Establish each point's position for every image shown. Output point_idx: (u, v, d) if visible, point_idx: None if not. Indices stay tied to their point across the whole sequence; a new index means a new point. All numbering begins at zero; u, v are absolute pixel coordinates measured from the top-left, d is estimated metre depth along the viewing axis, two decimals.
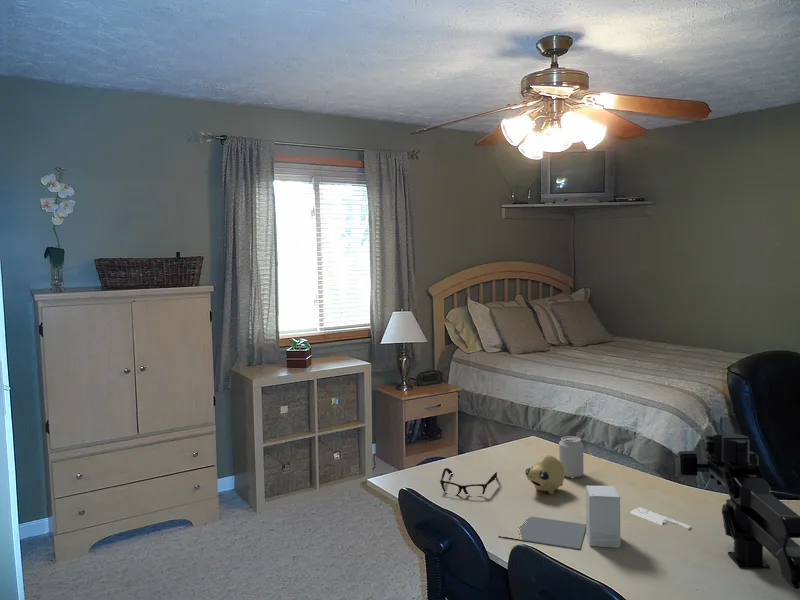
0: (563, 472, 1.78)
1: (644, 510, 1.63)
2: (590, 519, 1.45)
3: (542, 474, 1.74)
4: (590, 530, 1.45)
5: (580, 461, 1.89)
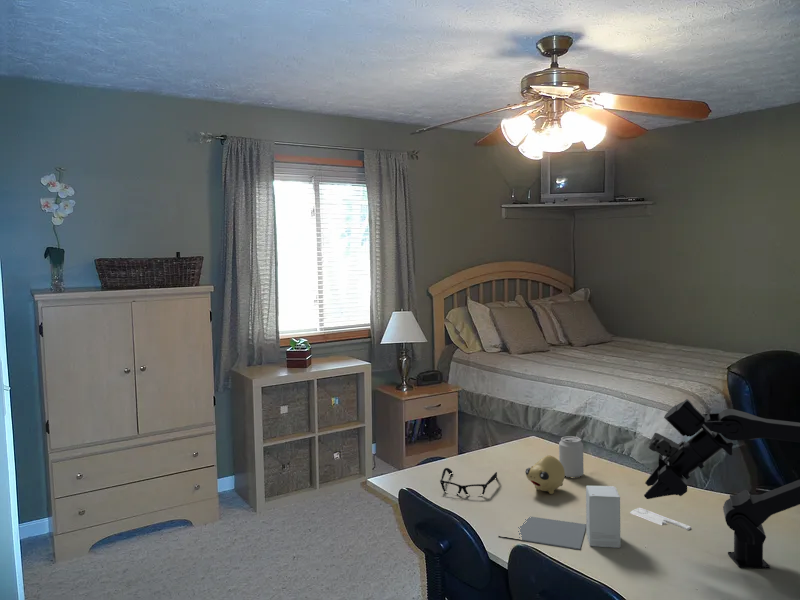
0: (563, 472, 1.78)
1: (644, 510, 1.63)
2: (590, 519, 1.45)
3: (542, 474, 1.74)
4: (590, 530, 1.45)
5: (580, 461, 1.89)
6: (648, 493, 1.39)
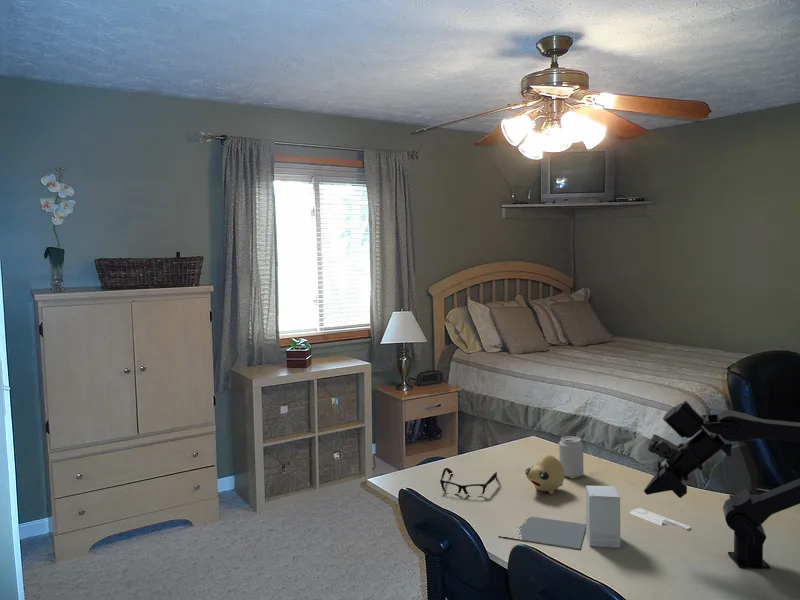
0: (563, 472, 1.78)
1: (643, 510, 1.63)
2: (590, 519, 1.45)
3: (542, 474, 1.74)
4: (590, 530, 1.45)
5: (580, 461, 1.89)
6: (647, 489, 1.43)
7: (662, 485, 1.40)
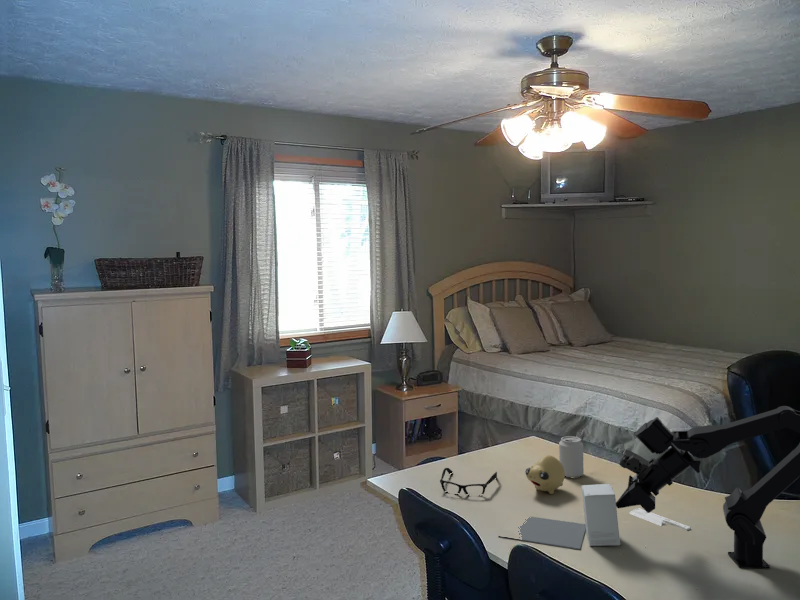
0: (563, 472, 1.78)
1: (643, 511, 1.63)
2: (587, 519, 1.45)
3: (542, 474, 1.74)
4: (588, 530, 1.45)
5: (580, 461, 1.89)
6: (619, 503, 1.45)
7: (633, 499, 1.43)
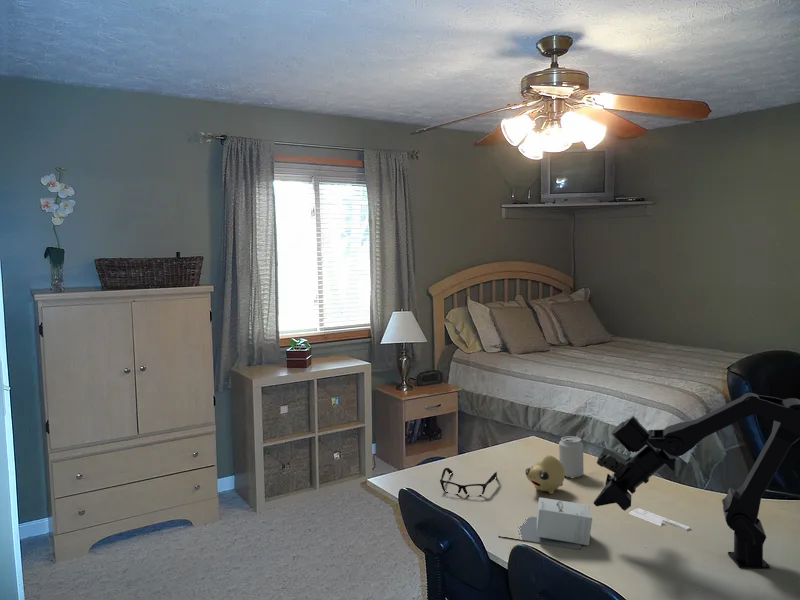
0: (563, 472, 1.78)
1: (643, 511, 1.63)
2: (560, 539, 1.47)
3: (542, 474, 1.74)
4: (572, 541, 1.46)
5: (580, 461, 1.89)
6: (597, 501, 1.48)
7: (610, 497, 1.45)
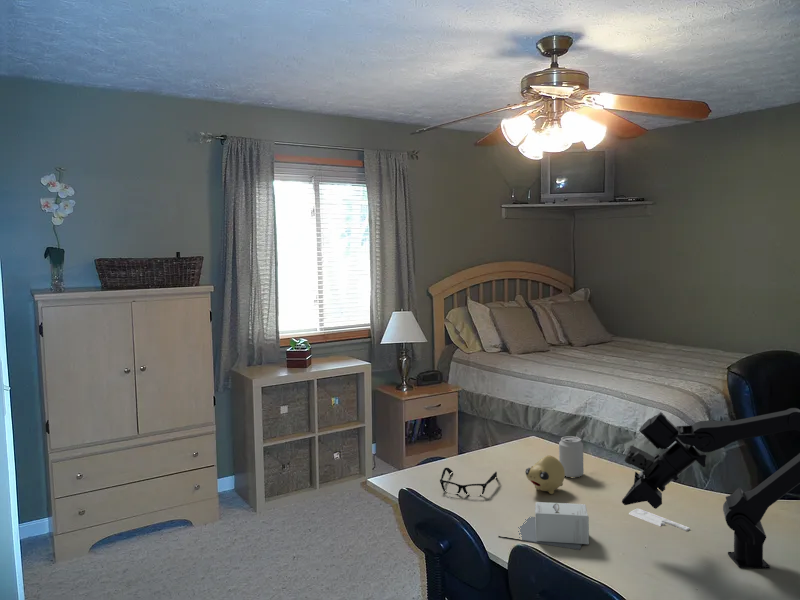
0: (563, 472, 1.78)
1: (642, 511, 1.62)
2: (560, 541, 1.47)
3: (542, 474, 1.74)
4: (572, 542, 1.46)
5: (580, 461, 1.89)
6: (625, 499, 1.45)
7: (639, 496, 1.43)
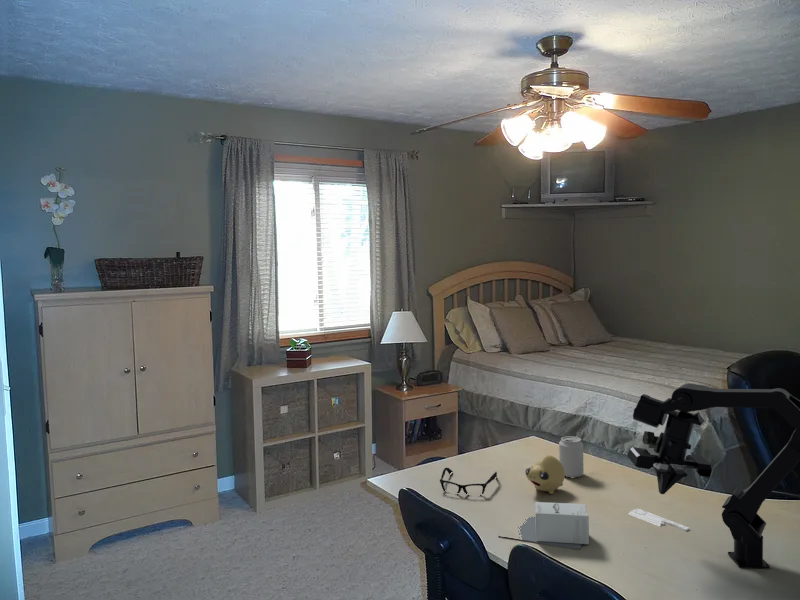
0: (563, 472, 1.78)
1: (642, 511, 1.62)
2: (560, 541, 1.47)
3: (542, 474, 1.74)
4: (572, 542, 1.46)
5: (580, 461, 1.89)
6: (659, 487, 1.47)
7: (661, 477, 1.45)
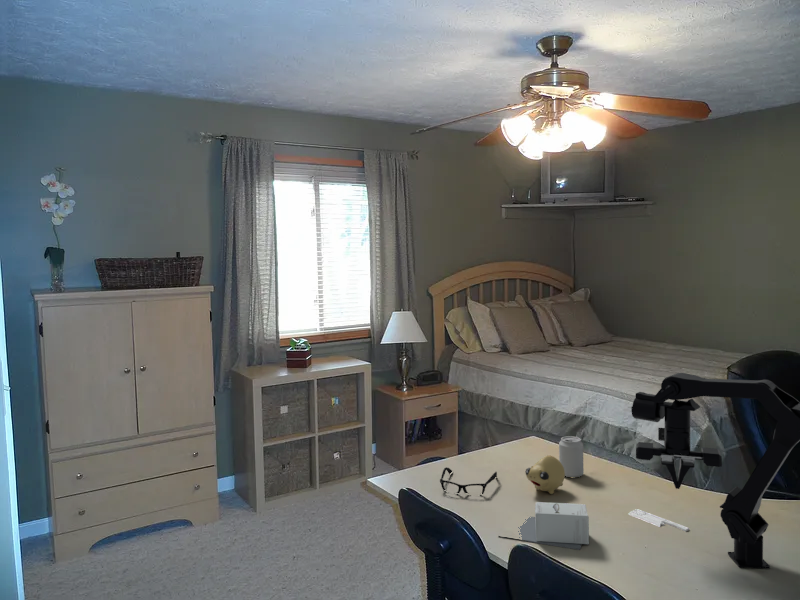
0: (563, 472, 1.78)
1: (642, 512, 1.62)
2: (560, 541, 1.47)
3: (542, 474, 1.74)
4: (572, 542, 1.46)
5: (580, 461, 1.89)
6: None
7: None
